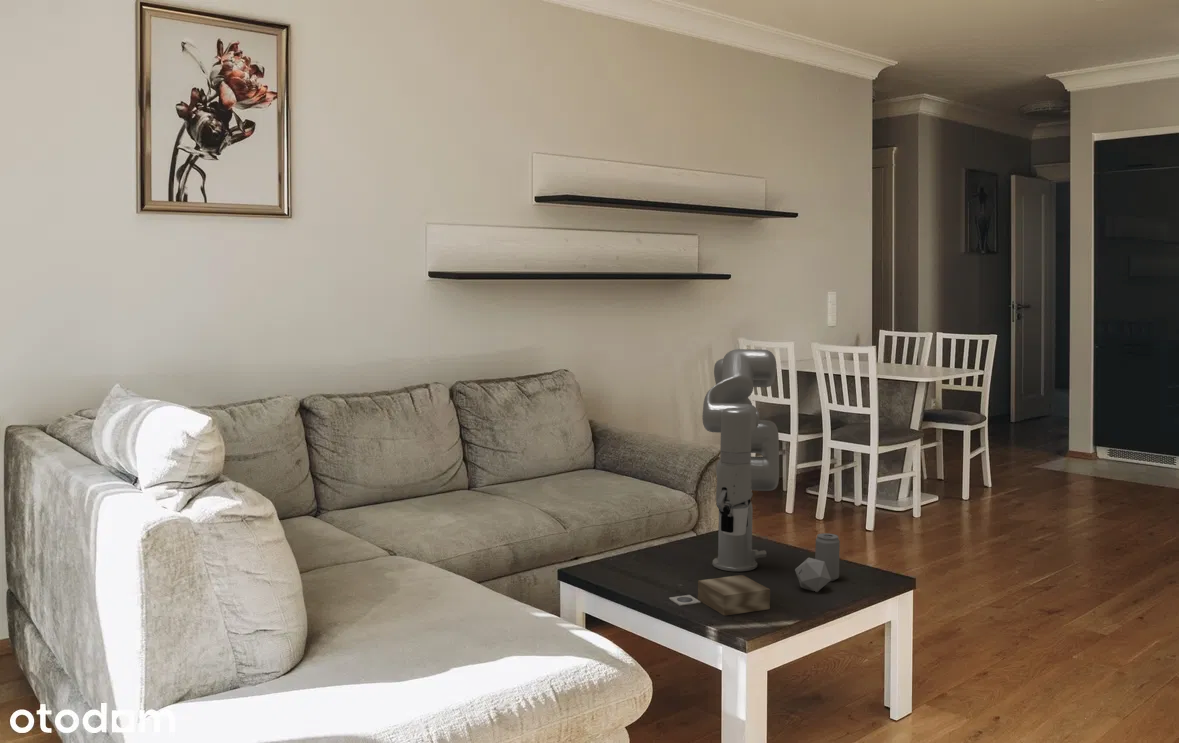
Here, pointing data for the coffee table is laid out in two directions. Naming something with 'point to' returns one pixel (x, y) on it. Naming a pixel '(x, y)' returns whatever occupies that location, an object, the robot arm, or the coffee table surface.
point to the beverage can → (828, 553)
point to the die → (812, 574)
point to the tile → (684, 600)
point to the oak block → (733, 595)
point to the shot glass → (739, 519)
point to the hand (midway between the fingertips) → (734, 528)
